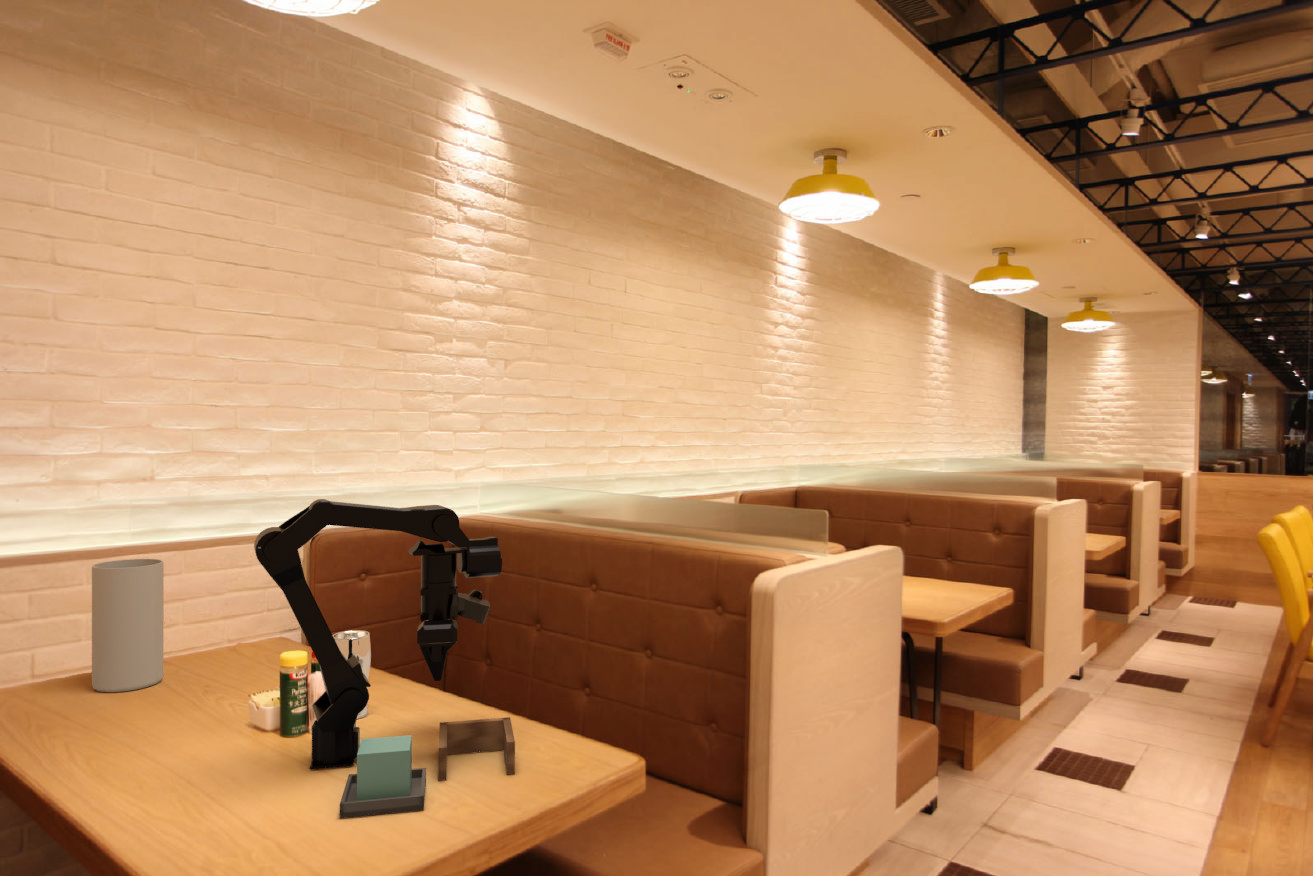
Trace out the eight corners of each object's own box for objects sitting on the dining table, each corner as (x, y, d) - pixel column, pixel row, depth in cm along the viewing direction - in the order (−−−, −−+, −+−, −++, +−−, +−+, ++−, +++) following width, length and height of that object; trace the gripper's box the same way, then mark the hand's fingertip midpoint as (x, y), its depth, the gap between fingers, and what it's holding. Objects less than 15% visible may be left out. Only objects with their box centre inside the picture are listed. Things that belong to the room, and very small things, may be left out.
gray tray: (339, 818, 113) (339, 804, 113) (348, 787, 122) (348, 774, 122) (423, 810, 115) (423, 796, 115) (426, 780, 125) (426, 767, 125)
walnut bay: (438, 781, 125) (438, 748, 125) (439, 753, 136) (439, 722, 136) (514, 774, 128) (514, 741, 128) (510, 747, 139) (510, 717, 139)
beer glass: (357, 723, 150) (357, 640, 149) (322, 720, 151) (322, 638, 151) (377, 710, 156) (378, 631, 156) (344, 707, 158) (344, 629, 158)
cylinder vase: (139, 693, 165) (139, 568, 165) (77, 693, 165) (76, 568, 165) (176, 675, 178) (176, 559, 178) (118, 674, 178) (118, 558, 178)
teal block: (356, 804, 115) (357, 754, 115) (361, 786, 121) (361, 739, 121) (409, 799, 117) (409, 750, 117) (411, 782, 123) (411, 735, 123)
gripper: (489, 588, 133) (489, 686, 133) (485, 569, 151) (484, 655, 151) (417, 591, 130) (416, 690, 130) (421, 571, 148) (421, 659, 148)
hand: (438, 672), depth 140 cm, fingers open, 9 cm apart
